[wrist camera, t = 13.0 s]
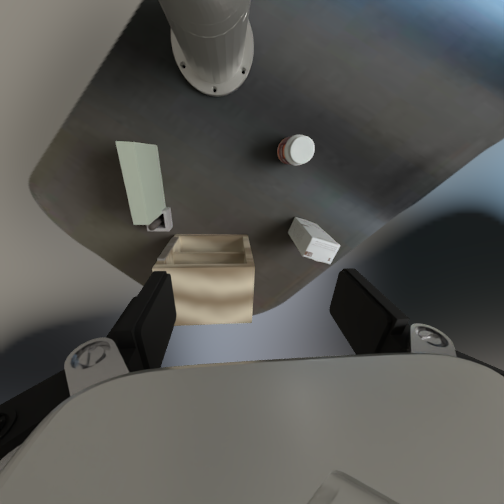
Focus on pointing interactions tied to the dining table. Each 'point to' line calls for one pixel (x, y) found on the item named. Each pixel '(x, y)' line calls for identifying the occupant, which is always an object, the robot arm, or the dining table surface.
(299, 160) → the pill bottle
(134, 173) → the door
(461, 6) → the dining table surface
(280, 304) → the dining table surface
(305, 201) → the dining table surface
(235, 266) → the cabinet
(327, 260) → the skincare box
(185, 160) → the dining table surface
